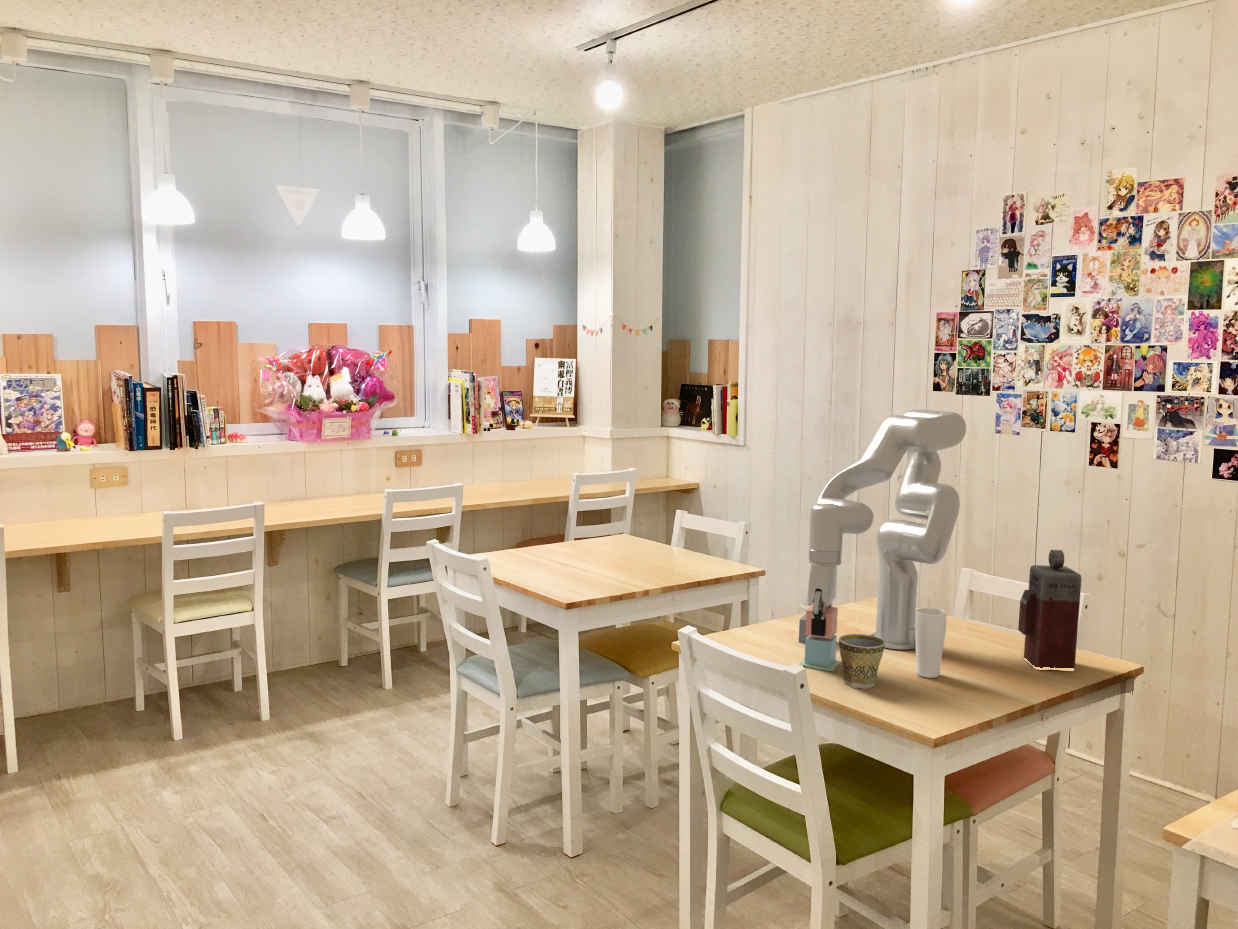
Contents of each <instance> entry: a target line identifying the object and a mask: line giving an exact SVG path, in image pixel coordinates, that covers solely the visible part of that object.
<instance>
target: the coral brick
mask: <svg viewBox="0 0 1238 929" xmlns="http://www.w3.org/2000/svg"><path fill="white" fill-rule="evenodd" d="M838 608H839V607H835V606H832V607H829V606H828V607H826V611H825V619H826V629H825V636H817V635H812V634H811V624H812V611H813V604H811V605H810V606H809V607H808V608H807V609H806V611H805V612H806V613H805V614H806V632H805V635H807V636H814V637H821V638H828V639H831V638H832V637H833V636H834V635H836V633H838V632H837V630H838V629H837V628H838V613H839V612H838V610H839V609H838ZM819 610H821V611H822V609H819Z"/></svg>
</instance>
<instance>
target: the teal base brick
mask: <svg viewBox="0 0 1238 929" xmlns="http://www.w3.org/2000/svg"><path fill="white" fill-rule="evenodd" d="M837 637H838V636H837V635H836V634H835V635H834V636H833V637H832V638H831V639H828V638H821V637H814V636H808V637H807V638H806V641H805V643H804V658H805V664H812V665H818V666H825V667H831V665H832V664H833V663H834V662H835V660H836V659H837V640H838V638H837Z"/></svg>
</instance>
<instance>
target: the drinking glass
mask: <svg viewBox="0 0 1238 929" xmlns="http://www.w3.org/2000/svg"><path fill="white" fill-rule="evenodd" d="M947 615H948V614H947V612H946V611H945V610H943V609H938V608H933V607H921V608H920V607H919V608H916V617H915V643H916V648H915V673H916V675H917V676H919V677H920V678H921V677H922V678H926V679H935V678H939V676H940V675H941V665H942V659H943V653H944V652H943V651H944V646H945V639H946V632H947V618H948V617H947Z"/></svg>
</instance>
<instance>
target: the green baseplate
mask: <svg viewBox="0 0 1238 929" xmlns="http://www.w3.org/2000/svg"><path fill="white" fill-rule="evenodd" d="M840 663H842V660H841V658H840V659H839V658H836V660H835V662H834V663H833V664H832V665H831V667H825V666H818V665H812V664H805V657H804V658H803V659H802V660H801V662H799V664H801V665H803V666H805V667H804V668H806V669H812V668H814V669H813V670H819V671H825V670H826V671H827V672H832V671H833V672H835V670H836V669H837V668H838V666H839V665H840ZM826 671H825V672H826Z"/></svg>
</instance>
